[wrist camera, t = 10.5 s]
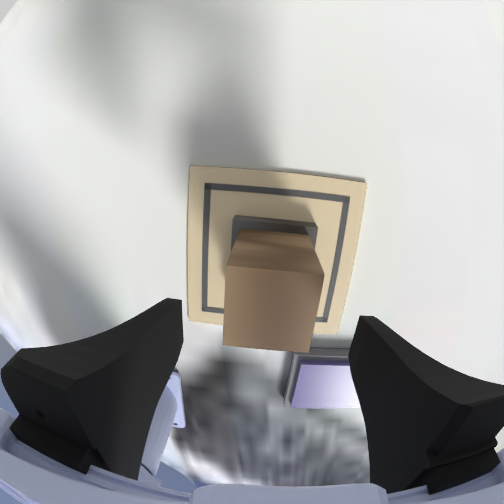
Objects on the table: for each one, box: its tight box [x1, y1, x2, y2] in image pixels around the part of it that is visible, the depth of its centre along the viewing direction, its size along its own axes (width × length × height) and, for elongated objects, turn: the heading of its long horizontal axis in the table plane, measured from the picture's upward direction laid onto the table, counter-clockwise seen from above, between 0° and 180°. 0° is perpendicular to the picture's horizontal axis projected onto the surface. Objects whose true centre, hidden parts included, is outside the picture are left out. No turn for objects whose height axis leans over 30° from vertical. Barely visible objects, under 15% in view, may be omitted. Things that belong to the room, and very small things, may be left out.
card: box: [188, 166, 367, 334], centre depth 19 cm, size 11×11×1 cm
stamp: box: [223, 215, 325, 353], centre depth 16 cm, size 5×5×7 cm
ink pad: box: [284, 347, 361, 408], centre depth 22 cm, size 8×6×2 cm
